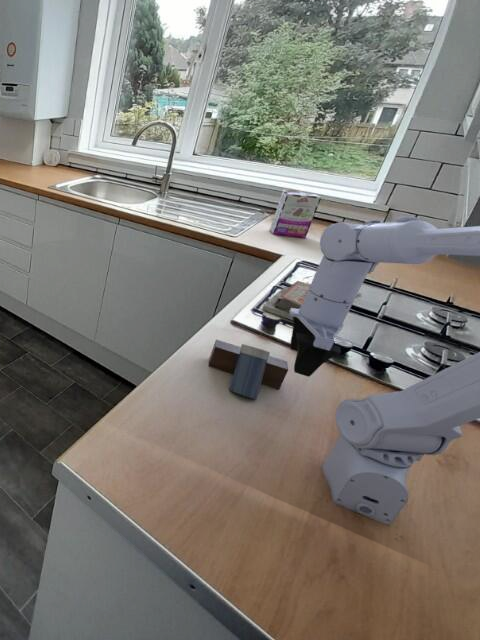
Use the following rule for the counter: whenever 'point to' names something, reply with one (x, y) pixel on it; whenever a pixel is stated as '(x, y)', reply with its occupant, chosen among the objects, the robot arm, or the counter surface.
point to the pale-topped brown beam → (227, 358)
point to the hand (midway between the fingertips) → (299, 361)
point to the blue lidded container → (249, 371)
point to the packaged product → (287, 299)
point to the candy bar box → (295, 214)
